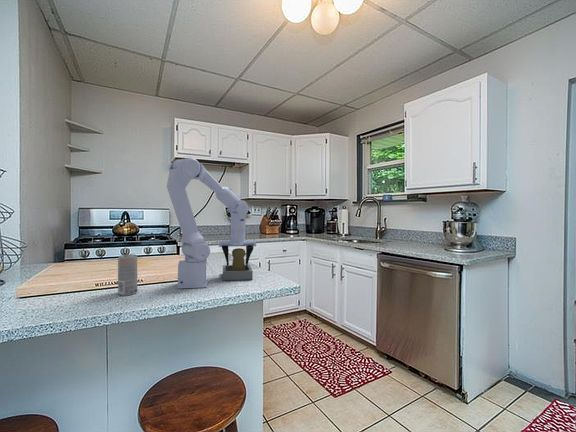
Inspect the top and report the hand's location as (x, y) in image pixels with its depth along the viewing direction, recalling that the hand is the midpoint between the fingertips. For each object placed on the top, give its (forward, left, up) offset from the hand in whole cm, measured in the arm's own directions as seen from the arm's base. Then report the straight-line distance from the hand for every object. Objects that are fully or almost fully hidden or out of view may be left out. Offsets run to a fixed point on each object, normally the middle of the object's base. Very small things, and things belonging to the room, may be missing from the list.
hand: (237, 264), depth 113 cm
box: (0, 0, -5) cm, 5 cm away
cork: (0, -1, -5) cm, 5 cm away
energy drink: (-35, -15, -5) cm, 38 cm away
